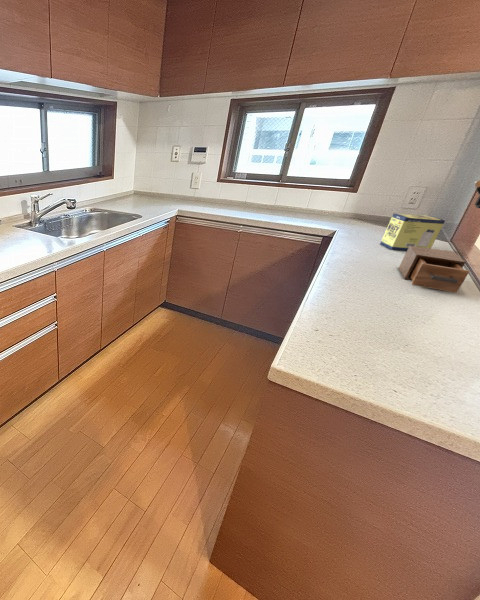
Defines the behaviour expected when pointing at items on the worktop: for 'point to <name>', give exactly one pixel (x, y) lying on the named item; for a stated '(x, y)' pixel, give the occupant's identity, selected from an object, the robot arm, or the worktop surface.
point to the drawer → (438, 274)
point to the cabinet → (427, 253)
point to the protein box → (411, 231)
